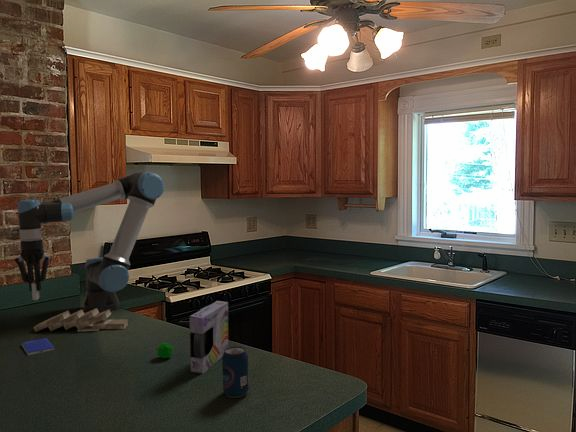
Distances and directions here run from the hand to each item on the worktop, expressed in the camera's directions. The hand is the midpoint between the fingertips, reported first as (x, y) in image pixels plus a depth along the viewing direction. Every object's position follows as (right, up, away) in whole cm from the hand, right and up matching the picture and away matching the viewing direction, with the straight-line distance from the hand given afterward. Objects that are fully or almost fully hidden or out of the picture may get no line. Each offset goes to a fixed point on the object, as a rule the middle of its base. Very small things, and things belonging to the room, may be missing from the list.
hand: (36, 299), depth 196 cm
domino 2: (+7, -11, -1) cm, 13 cm away
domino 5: (+23, -10, 0) cm, 25 cm away
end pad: (+22, -11, 0) cm, 24 cm away
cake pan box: (+74, -14, -38) cm, 85 cm away
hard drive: (+12, -14, -22) cm, 28 cm away
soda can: (+85, -16, -61) cm, 105 cm away
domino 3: (+13, -10, -1) cm, 16 cm away
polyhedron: (+59, -14, -33) cm, 69 cm away
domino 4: (+17, -10, 0) cm, 20 cm away
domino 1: (+1, -11, -1) cm, 11 cm away
